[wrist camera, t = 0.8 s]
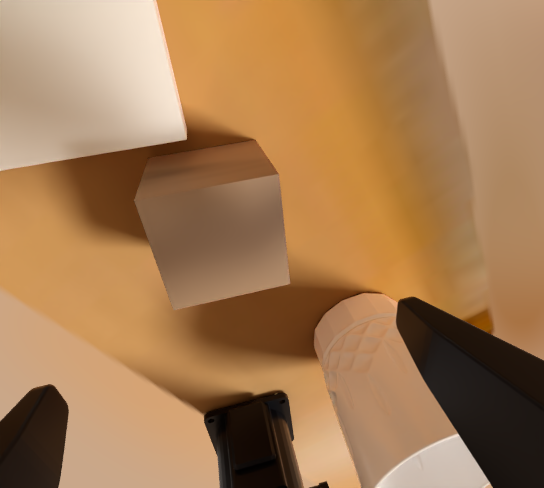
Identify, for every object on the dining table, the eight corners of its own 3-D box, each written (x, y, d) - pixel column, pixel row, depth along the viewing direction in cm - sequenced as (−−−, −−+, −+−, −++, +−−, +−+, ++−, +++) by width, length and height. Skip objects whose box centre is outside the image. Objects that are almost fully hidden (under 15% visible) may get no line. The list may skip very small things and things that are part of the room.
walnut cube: (267, 229, 19) (290, 283, 15) (176, 248, 18) (173, 310, 14) (255, 139, 16) (278, 173, 12) (148, 157, 15) (133, 200, 11)
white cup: (417, 334, 26) (525, 471, 18) (327, 380, 27) (392, 534, 18) (392, 265, 22) (518, 402, 14) (286, 321, 23) (345, 487, 14)
